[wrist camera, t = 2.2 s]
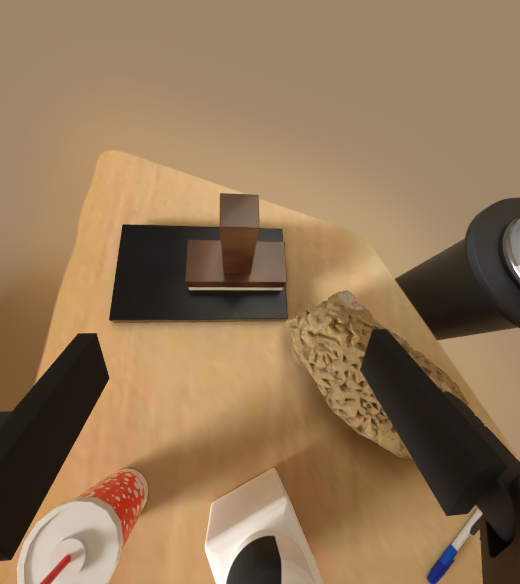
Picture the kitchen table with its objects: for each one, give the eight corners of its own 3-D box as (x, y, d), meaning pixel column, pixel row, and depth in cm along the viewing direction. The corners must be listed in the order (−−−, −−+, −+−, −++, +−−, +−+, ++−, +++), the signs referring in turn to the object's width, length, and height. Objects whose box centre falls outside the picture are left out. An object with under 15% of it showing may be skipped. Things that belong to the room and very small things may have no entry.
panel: (280, 234, 36) (282, 228, 34) (285, 321, 32) (288, 318, 31) (126, 230, 34) (122, 224, 32) (114, 322, 30) (108, 320, 29)
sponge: (271, 342, 33) (389, 515, 25) (286, 311, 26) (451, 533, 18) (345, 299, 38) (461, 431, 30) (373, 266, 31) (530, 422, 24)
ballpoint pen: (430, 584, 26) (438, 592, 25) (424, 576, 26) (431, 583, 25) (488, 500, 29) (497, 505, 28) (481, 493, 29) (490, 497, 28)
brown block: (279, 252, 33) (306, 186, 21) (282, 290, 32) (312, 241, 20) (191, 251, 32) (167, 179, 20) (189, 290, 31) (162, 237, 19)
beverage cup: (156, 455, 27) (81, 536, 13) (156, 527, 25) (69, 703, 12) (92, 464, 26) (-55, 560, 13) (87, 540, 24) (-90, 742, 11)
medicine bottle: (238, 583, 24) (244, 767, 13) (210, 501, 26) (193, 602, 15) (304, 539, 26) (362, 670, 15) (274, 465, 28) (304, 530, 16)
